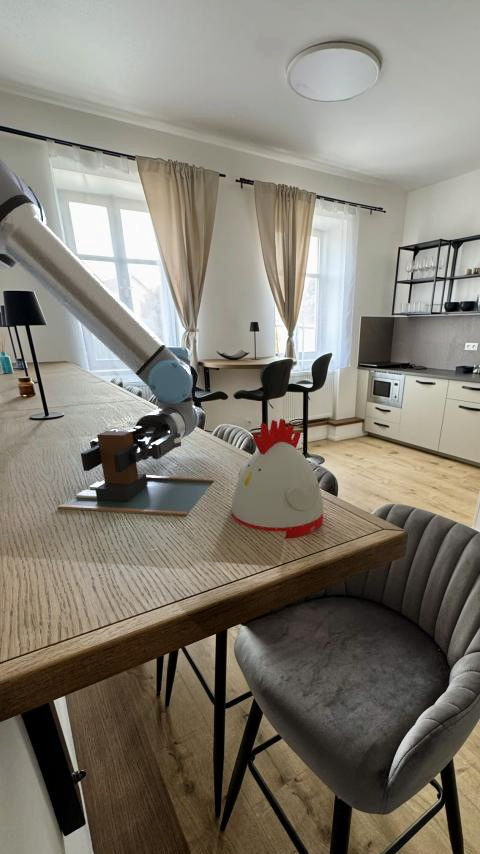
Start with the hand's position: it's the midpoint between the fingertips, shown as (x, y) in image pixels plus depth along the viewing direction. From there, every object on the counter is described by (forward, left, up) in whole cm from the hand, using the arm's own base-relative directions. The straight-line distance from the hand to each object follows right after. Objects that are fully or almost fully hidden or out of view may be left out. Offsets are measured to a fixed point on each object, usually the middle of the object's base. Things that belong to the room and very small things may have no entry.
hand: (100, 462), depth 61 cm
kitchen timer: (+24, +10, -8) cm, 28 cm away
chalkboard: (+1, +6, -8) cm, 10 cm away
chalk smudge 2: (-7, +5, -7) cm, 11 cm away
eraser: (-2, +5, -7) cm, 8 cm away
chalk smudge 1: (-5, +2, -7) cm, 9 cm away
